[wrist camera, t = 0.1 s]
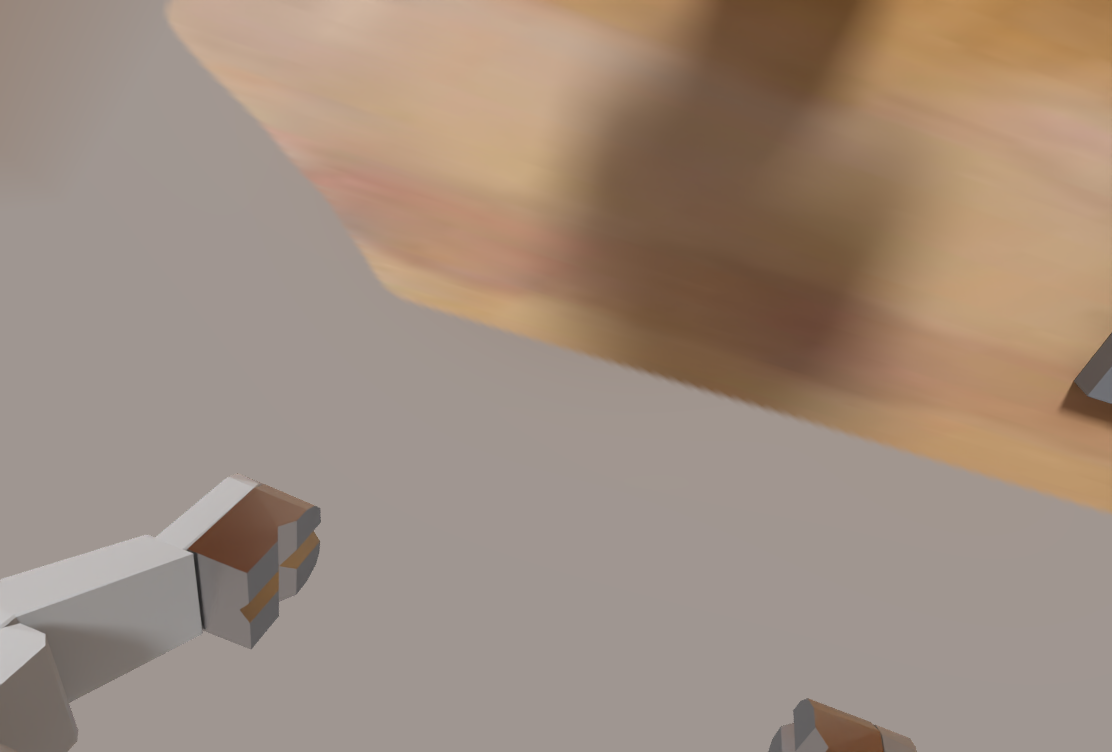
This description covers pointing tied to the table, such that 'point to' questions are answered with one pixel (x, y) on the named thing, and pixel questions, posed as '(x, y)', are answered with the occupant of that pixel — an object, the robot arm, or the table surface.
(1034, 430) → the table surface
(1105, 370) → the lock plate
